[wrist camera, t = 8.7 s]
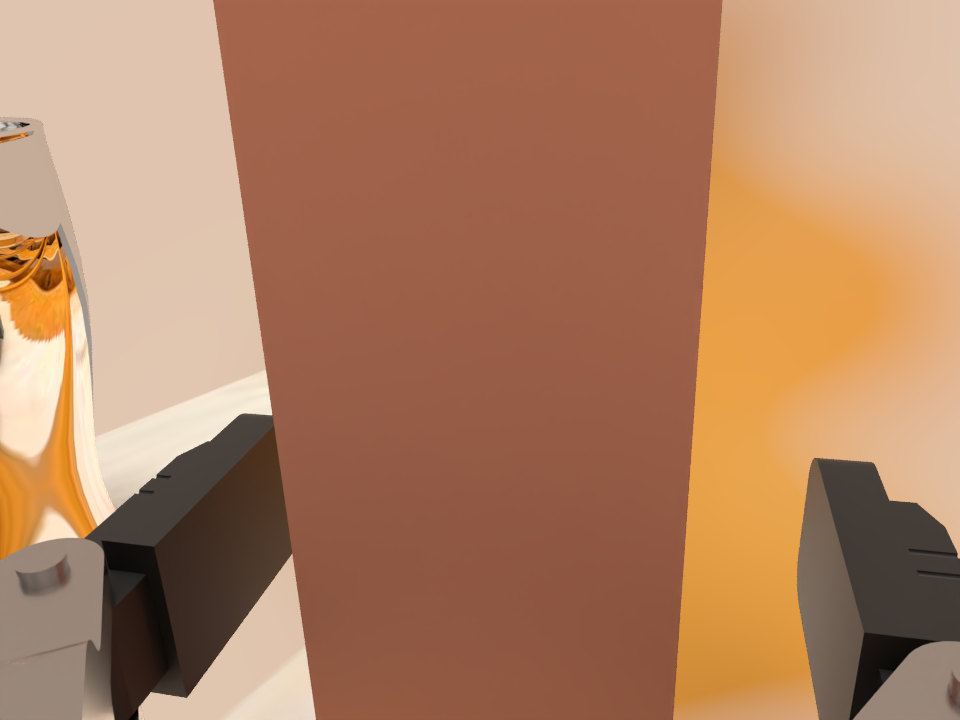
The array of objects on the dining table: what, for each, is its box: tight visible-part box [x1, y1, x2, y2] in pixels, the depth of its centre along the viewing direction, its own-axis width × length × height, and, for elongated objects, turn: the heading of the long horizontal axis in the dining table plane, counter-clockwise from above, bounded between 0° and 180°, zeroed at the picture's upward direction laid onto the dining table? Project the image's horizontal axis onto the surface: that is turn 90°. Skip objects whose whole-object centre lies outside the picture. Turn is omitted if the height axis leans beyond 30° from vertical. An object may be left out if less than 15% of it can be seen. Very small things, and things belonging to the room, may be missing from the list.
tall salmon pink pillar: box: [213, 0, 722, 720], centre depth 11 cm, size 6×6×17 cm
